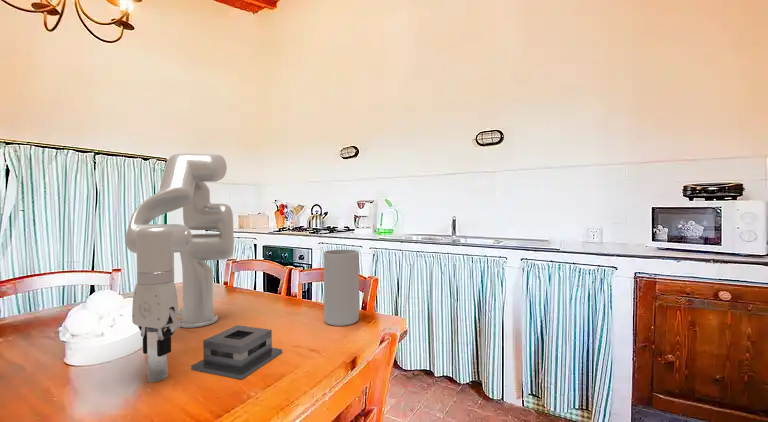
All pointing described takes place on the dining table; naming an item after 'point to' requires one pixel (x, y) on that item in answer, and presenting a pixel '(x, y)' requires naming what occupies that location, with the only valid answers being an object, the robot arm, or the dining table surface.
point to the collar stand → (237, 352)
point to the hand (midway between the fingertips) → (157, 352)
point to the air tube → (155, 357)
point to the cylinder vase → (341, 287)
